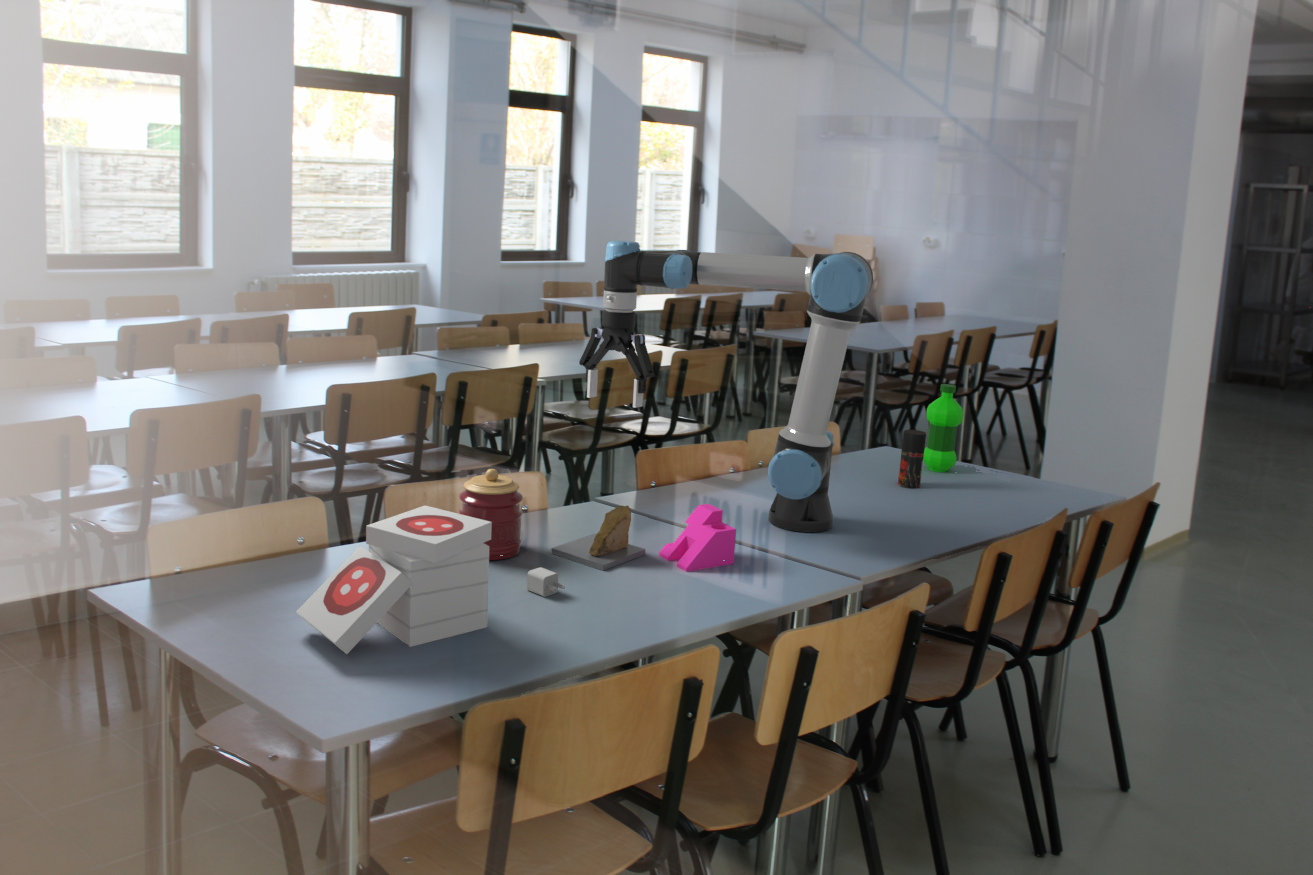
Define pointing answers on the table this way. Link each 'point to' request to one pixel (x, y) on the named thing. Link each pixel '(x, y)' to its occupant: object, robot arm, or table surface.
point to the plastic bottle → (942, 430)
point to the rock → (612, 532)
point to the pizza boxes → (408, 581)
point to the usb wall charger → (543, 582)
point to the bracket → (703, 541)
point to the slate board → (580, 554)
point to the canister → (495, 511)
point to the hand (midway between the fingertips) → (614, 402)
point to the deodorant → (911, 459)
